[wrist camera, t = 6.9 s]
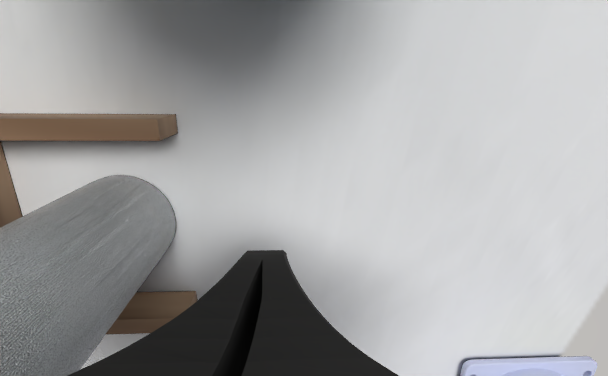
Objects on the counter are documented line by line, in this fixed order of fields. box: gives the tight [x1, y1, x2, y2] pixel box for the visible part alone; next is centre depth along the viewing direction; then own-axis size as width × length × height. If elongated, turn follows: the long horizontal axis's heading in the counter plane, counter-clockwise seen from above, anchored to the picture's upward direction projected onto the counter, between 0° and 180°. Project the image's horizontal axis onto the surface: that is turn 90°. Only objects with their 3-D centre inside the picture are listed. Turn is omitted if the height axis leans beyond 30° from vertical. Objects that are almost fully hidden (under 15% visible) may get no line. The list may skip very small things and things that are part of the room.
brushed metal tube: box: [0, 175, 176, 376], centre depth 10 cm, size 4×4×10 cm
